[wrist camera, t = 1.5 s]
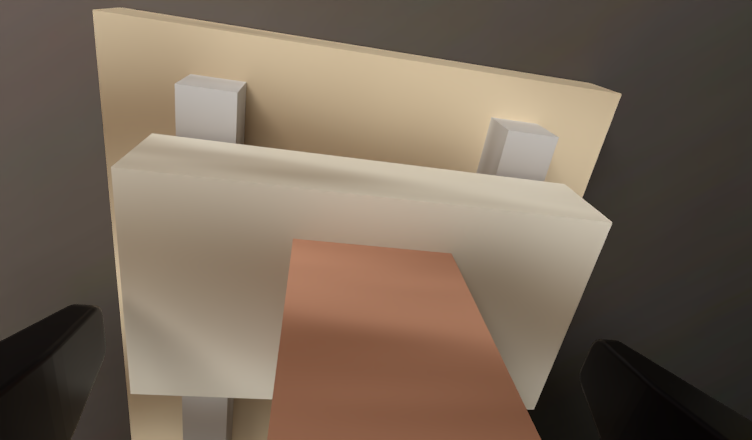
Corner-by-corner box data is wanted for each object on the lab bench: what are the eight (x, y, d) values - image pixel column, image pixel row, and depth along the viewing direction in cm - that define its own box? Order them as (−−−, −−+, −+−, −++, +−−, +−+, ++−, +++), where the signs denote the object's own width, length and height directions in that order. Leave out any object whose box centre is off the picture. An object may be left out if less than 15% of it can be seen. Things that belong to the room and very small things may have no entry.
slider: (504, 351, 13) (675, 693, 7) (160, 331, 11) (-38, 741, 5) (564, 184, 11) (897, 453, 4) (152, 133, 9) (-202, 425, 3)
